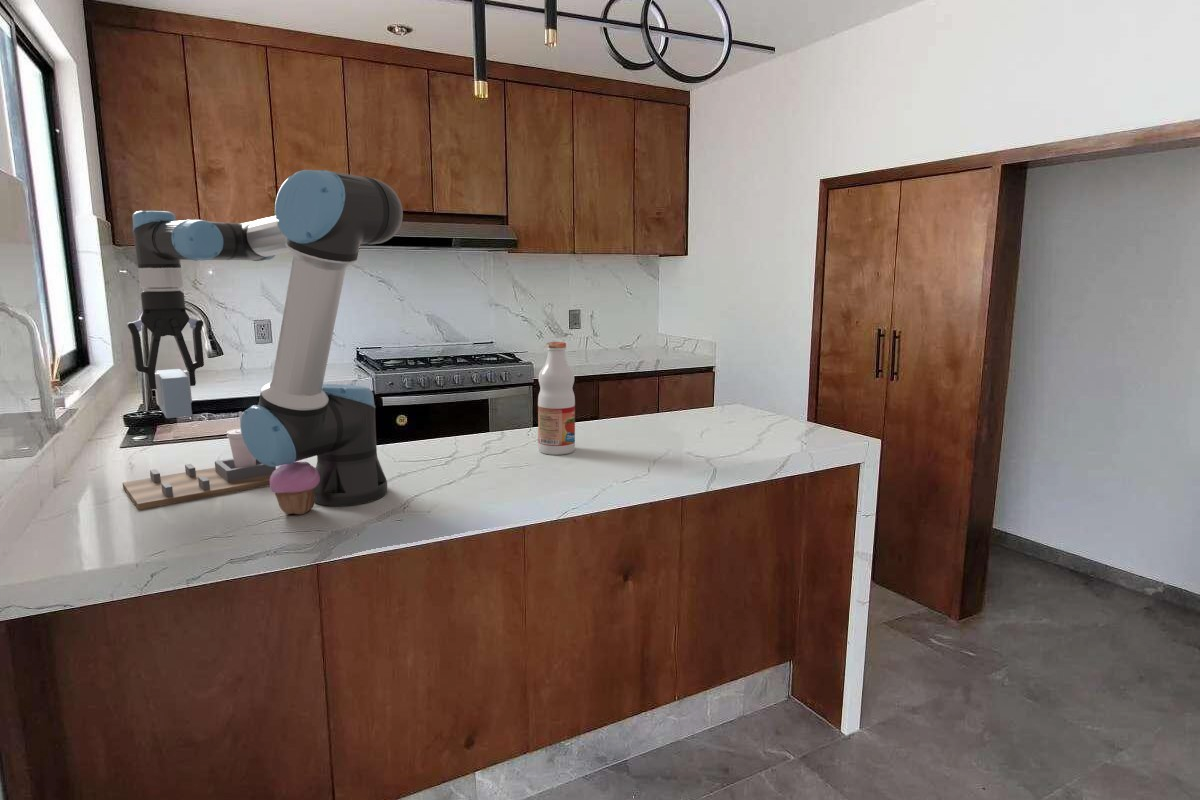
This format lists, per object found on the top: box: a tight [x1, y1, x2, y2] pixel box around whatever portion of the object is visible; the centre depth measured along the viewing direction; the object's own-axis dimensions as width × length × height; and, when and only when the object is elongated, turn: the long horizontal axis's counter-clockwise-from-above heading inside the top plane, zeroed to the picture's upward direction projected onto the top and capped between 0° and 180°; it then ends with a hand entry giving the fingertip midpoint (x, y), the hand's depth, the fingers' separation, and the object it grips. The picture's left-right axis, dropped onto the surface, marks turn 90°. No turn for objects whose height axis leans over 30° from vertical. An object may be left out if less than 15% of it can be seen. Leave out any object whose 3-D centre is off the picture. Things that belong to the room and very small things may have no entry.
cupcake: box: [269, 461, 320, 515], centre depth 138 cm, size 9×9×10 cm
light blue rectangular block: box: [155, 368, 193, 419], centre depth 150 cm, size 14×4×8 cm, turn 36°
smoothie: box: [226, 411, 256, 468], centre depth 159 cm, size 6×6×14 cm
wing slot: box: [149, 463, 210, 497], centre depth 152 cm, size 16×8×2 cm, turn 41°
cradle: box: [214, 458, 277, 482], centre depth 160 cm, size 10×10×2 cm
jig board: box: [121, 467, 271, 511], centre depth 156 cm, size 18×28×1 cm, turn 131°
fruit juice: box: [537, 341, 576, 456], centre depth 184 cm, size 9×9×28 cm
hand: (174, 402), depth 150 cm, fingers closed on light blue rectangular block, 5 cm apart
